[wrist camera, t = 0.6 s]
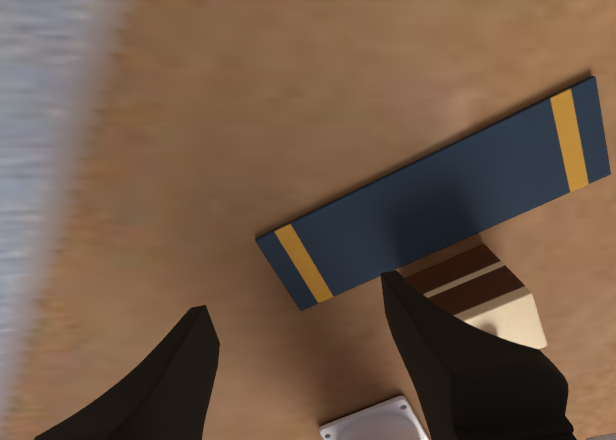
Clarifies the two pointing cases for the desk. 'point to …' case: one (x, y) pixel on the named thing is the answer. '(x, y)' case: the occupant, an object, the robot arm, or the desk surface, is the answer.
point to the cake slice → (484, 296)
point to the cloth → (443, 197)
